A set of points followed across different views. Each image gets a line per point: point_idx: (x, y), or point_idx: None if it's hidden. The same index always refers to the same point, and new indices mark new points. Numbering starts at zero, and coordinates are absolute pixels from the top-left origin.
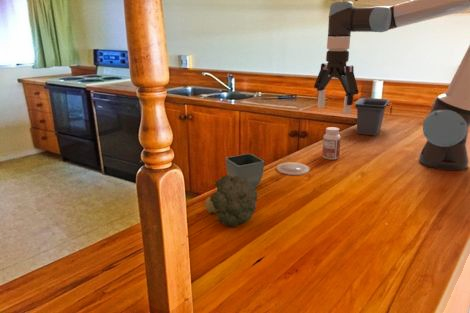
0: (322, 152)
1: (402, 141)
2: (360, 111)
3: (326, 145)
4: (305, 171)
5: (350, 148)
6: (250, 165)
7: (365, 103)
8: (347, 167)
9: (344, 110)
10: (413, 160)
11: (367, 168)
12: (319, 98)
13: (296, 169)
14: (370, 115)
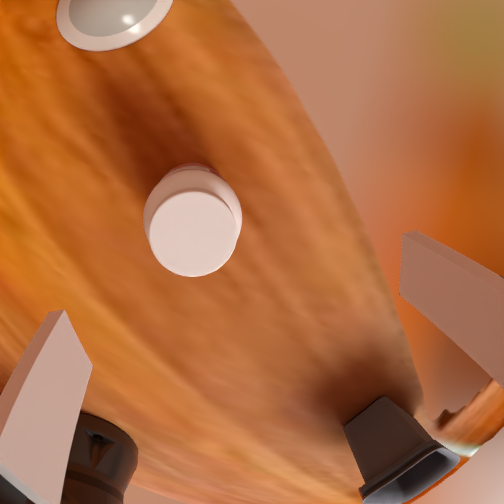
0: (207, 166)
1: (273, 457)
2: (410, 445)
3: (173, 171)
4: (62, 27)
5: (272, 326)
6: None
7: (444, 459)
8: (67, 202)
9: (37, 333)
10: (112, 414)
11: (49, 265)
12: (468, 273)
13: (89, 2)
14: (379, 457)
